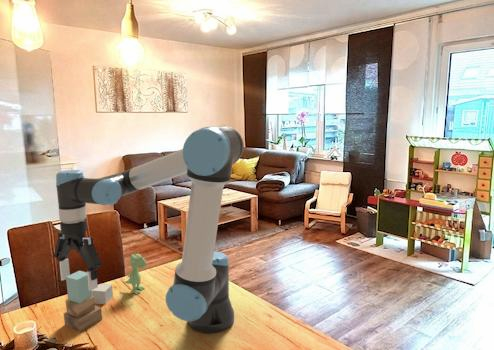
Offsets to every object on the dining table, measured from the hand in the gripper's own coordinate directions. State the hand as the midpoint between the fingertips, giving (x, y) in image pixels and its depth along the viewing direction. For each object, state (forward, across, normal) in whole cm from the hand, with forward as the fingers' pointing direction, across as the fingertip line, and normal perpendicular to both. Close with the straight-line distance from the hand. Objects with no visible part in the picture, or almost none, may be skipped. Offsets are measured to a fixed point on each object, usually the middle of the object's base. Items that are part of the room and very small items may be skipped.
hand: (79, 283), depth 113 cm
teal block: (+5, 0, 0) cm, 5 cm away
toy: (+14, +1, -24) cm, 28 cm away
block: (+14, +6, -13) cm, 20 cm away
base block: (+14, 0, 0) cm, 14 cm away
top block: (+10, 0, 0) cm, 10 cm away
